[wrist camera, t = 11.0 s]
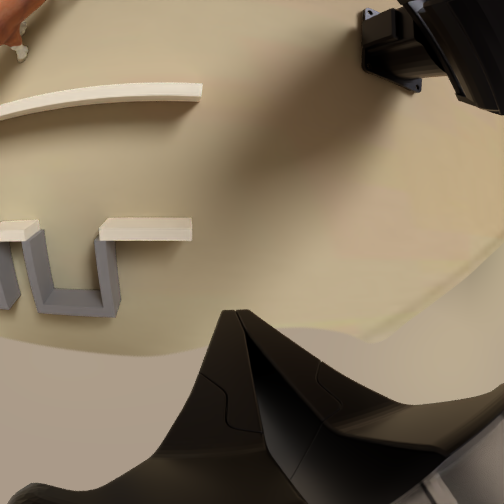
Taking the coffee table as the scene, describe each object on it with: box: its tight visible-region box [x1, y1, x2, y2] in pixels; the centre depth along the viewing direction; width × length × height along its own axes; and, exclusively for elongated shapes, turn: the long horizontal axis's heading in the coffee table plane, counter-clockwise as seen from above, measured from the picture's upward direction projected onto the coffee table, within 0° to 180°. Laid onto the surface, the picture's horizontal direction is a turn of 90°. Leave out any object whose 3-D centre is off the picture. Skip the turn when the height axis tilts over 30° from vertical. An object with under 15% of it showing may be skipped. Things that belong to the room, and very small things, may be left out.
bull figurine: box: [0, 0, 46, 63], centre depth 7 cm, size 4×13×8 cm, turn 129°
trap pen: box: [0, 83, 203, 318], centre depth 14 cm, size 27×15×3 cm, turn 85°
